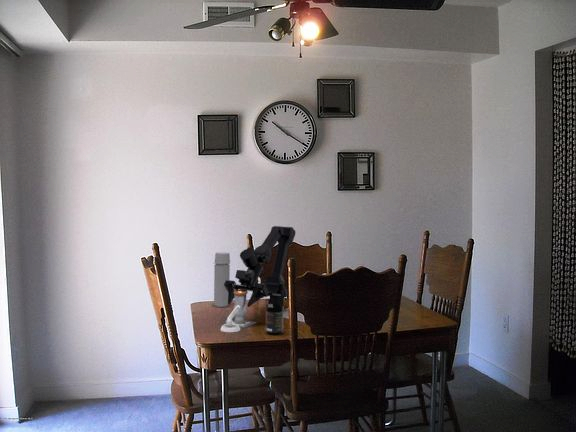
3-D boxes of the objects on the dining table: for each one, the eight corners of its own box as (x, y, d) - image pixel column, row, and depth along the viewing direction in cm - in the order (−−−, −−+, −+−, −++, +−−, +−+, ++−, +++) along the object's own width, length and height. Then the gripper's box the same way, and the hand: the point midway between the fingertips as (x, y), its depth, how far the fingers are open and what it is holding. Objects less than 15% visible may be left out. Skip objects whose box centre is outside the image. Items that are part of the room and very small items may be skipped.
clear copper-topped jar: (244, 320, 219) (245, 289, 218) (248, 323, 213) (249, 291, 213) (231, 321, 216) (231, 290, 216) (235, 324, 211) (235, 292, 211)
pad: (235, 320, 222) (235, 319, 222) (256, 323, 217) (256, 321, 217) (222, 325, 213) (222, 324, 213) (243, 328, 208) (243, 327, 208)
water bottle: (231, 307, 247) (231, 253, 246) (214, 307, 245) (214, 253, 244) (228, 303, 256) (229, 251, 255) (212, 303, 254) (212, 251, 253)
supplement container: (286, 332, 204) (286, 305, 203) (277, 336, 198) (278, 308, 197) (271, 329, 207) (271, 303, 206) (262, 333, 201) (262, 306, 200)
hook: (252, 319, 202) (237, 309, 200) (233, 343, 203) (218, 333, 202) (251, 311, 209) (236, 301, 207) (233, 333, 210) (219, 324, 209)
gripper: (226, 260, 222) (210, 291, 212) (265, 264, 213) (251, 295, 204) (236, 277, 229) (221, 307, 219) (274, 280, 221) (261, 312, 211)
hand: (238, 305), depth 213 cm, fingers open, 9 cm apart
